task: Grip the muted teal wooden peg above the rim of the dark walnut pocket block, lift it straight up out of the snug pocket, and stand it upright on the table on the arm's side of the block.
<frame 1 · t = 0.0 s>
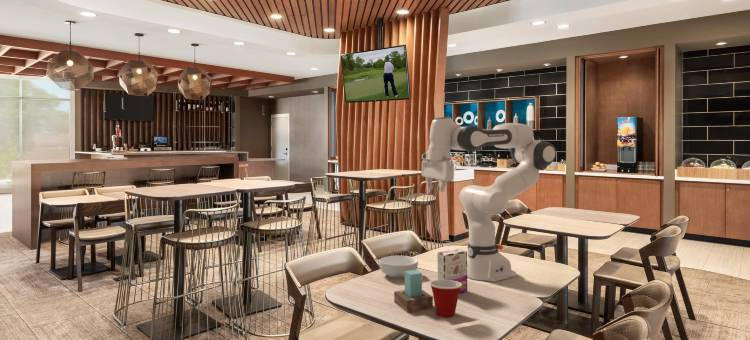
hand: (435, 190, 190), 39 cm above the table, tool pointing down, fingers open, 8 cm apart
candy bar box: (452, 293, 181), on the table
plastic cup: (445, 317, 158), on the table
pocket block: (413, 307, 166), on the table
cereal bowl: (398, 276, 203), on the table
teal peg: (413, 304, 166), point 1 cm above the table, touching pocket block
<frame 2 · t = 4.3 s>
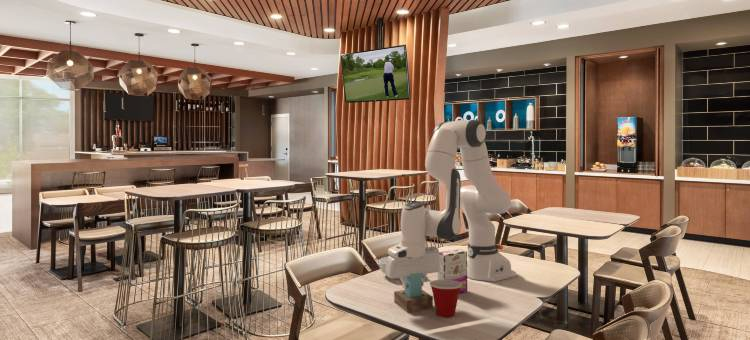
hand: (413, 286, 166), 8 cm above the table, tool pointing down, fingers closed on teal peg, 4 cm apart
teal peg: (413, 304, 166), point 1 cm above the table, touching gripper, pocket block
everything else where it was.
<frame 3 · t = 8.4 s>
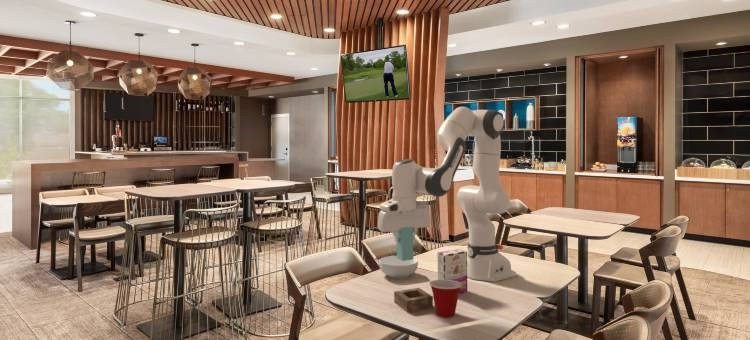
hand: (404, 241, 171), 23 cm above the table, tool pointing down, fingers closed on teal peg, 4 cm apart
teal peg: (405, 258, 172), point 16 cm above the table, touching gripper
everything else where it was.
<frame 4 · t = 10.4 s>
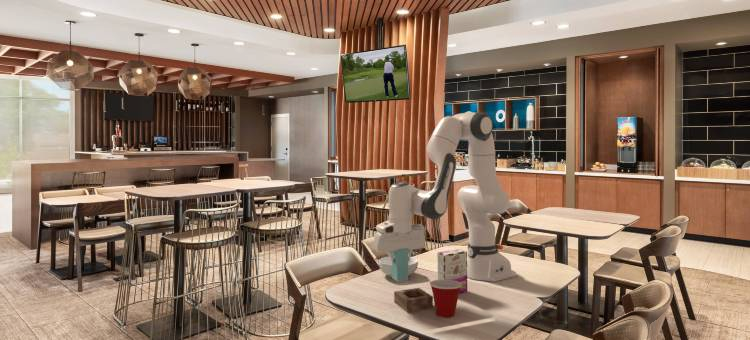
hand: (400, 261, 175), 14 cm above the table, tool pointing down, fingers closed on teal peg, 4 cm apart
teal peg: (400, 279, 175), point 7 cm above the table, touching gripper
everything else where it was.
when the fingers open (8 cm above the table, at t = 12.3 s): teal peg drops 1 cm, on the table.
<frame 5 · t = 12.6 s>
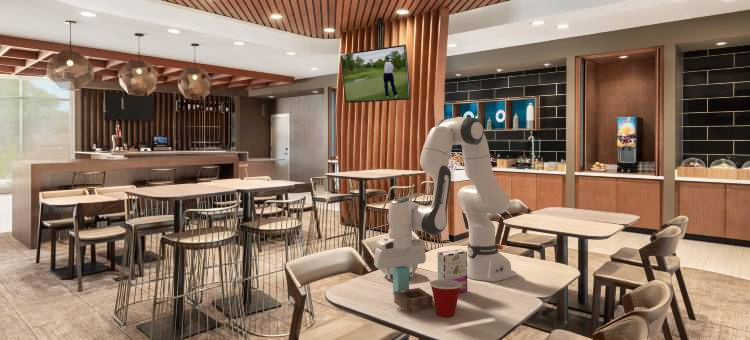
hand: (400, 277, 175), 8 cm above the table, tool pointing down, fingers open, 7 cm apart
teal peg: (400, 297, 176), on the table
everything else where it was.
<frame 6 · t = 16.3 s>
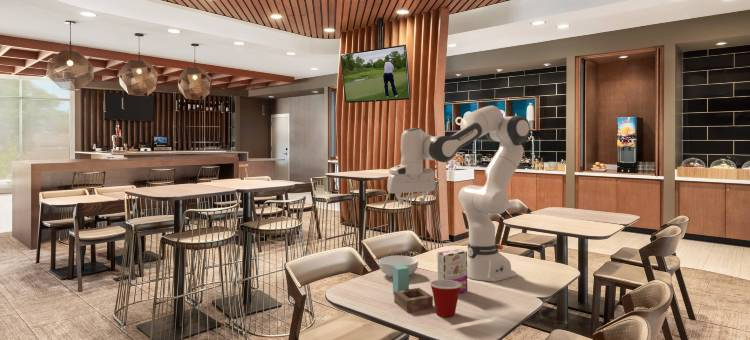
hand: (411, 203, 186), 34 cm above the table, tool pointing down, fingers open, 8 cm apart
nothing on the table moved.
at the end: teal peg inside the target area (0.2 cm from its centre), on the table; teal peg tilted 0°; the gripper is holding nothing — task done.
